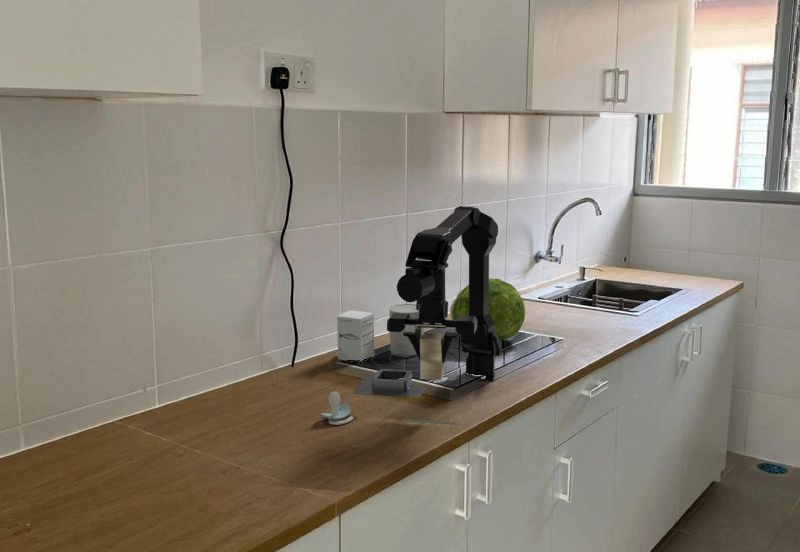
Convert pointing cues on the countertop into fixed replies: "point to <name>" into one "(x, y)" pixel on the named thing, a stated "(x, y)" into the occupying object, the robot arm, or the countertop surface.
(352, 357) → the supplement box
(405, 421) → the pad
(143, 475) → the countertop surface
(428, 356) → the maple block
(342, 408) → the pacifier
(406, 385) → the pocket fixture
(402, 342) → the white stone cylinder
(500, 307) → the lettuce
